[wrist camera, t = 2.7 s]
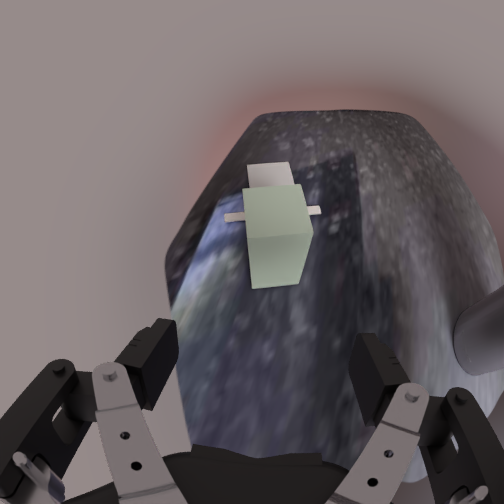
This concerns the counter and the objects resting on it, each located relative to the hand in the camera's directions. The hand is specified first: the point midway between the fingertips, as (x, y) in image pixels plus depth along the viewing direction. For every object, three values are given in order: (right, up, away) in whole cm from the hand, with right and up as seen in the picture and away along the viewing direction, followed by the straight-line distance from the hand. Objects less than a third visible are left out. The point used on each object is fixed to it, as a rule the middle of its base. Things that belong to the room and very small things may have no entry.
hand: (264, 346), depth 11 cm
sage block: (+2, +3, +19) cm, 19 cm away
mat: (+2, +14, +25) cm, 29 cm away
